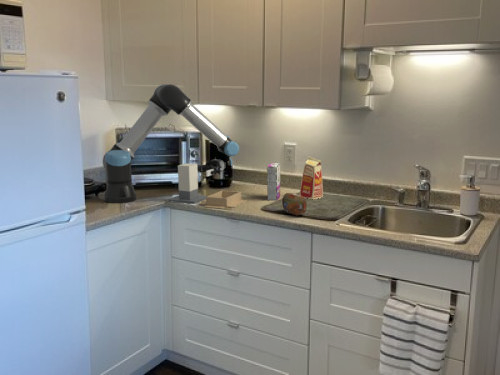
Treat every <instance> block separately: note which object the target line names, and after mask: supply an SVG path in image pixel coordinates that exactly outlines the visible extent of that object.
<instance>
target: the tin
mask: <svg viewBox="0 0 500 375" xmlns="http://www.w3.org/2000/svg"><path fill="white" fill-rule="evenodd" d="M281 201H282V207H283V210H284V212H286V211H288V212H290V213H289V214H291V213H292V215H295V216H303V215H305V213H306V212H307V199H305V198H304V197H303V196H300V195H299V194H297V193H293V192H286V193H285V194H284V195H283V197H282V200H281ZM288 212H287V213H288Z"/></svg>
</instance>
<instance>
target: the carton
mask: <svg viewBox="0 0 500 375" xmlns="http://www.w3.org/2000/svg"><path fill="white" fill-rule="evenodd" d="M206 196H207V197H206V199H205V201H204V202H202V203H200V205H201V206H203V207H204V208H211V209H219V210H221V209H224V208H233V209H234V208H236V207H238V206H240V205H242V204H244V203H246V202H248V200H247V199H244V198H243V197H242V191H236V190H234V191H233V190H220V191H217V192H215V193H213V194H210V195H206Z"/></svg>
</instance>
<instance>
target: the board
mask: <svg viewBox="0 0 500 375" xmlns="http://www.w3.org/2000/svg"><path fill="white" fill-rule="evenodd" d="M207 196H208V195H202V194H198V197H196V198H193V199H191V200H187V199H179V195H176V196H174V197H172V198H168V202H169V201H173V202H172V203H180V202H183V203H182V204H190V205H191V204H195V205H196V204H197V203H199V202H202V201H204V200H205V201H206V197H207Z"/></svg>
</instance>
